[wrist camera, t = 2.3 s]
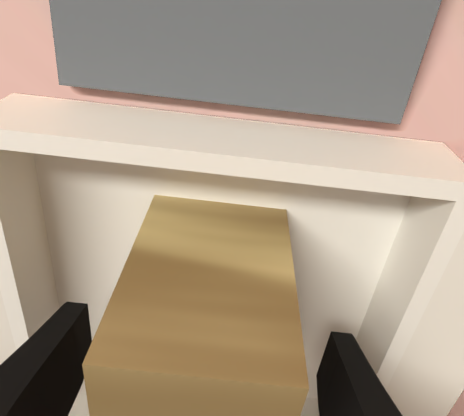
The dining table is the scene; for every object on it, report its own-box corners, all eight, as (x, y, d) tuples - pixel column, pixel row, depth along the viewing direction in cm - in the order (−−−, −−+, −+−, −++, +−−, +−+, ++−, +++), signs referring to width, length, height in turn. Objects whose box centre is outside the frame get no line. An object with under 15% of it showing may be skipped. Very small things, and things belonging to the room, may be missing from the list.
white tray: (7, 364, 17) (-27, 420, 15) (-75, 83, 11) (-153, 112, 9) (394, 405, 18) (413, 466, 16) (527, 152, 11) (590, 197, 9)
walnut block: (255, 359, 16) (256, 549, 11) (154, 349, 16) (106, 534, 11) (286, 209, 12) (309, 388, 7) (154, 194, 12) (81, 364, 7)
